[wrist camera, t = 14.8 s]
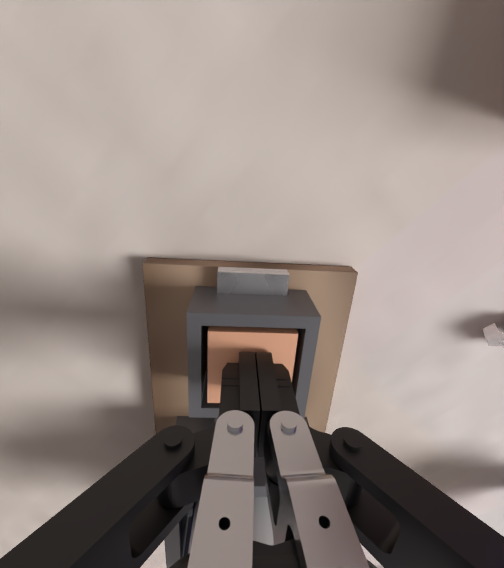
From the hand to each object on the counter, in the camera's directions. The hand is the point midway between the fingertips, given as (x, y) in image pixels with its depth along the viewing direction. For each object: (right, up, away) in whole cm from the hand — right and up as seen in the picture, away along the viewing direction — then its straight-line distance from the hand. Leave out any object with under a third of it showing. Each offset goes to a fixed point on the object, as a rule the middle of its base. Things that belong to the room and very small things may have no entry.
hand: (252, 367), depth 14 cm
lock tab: (0, +1, +2) cm, 2 cm away
